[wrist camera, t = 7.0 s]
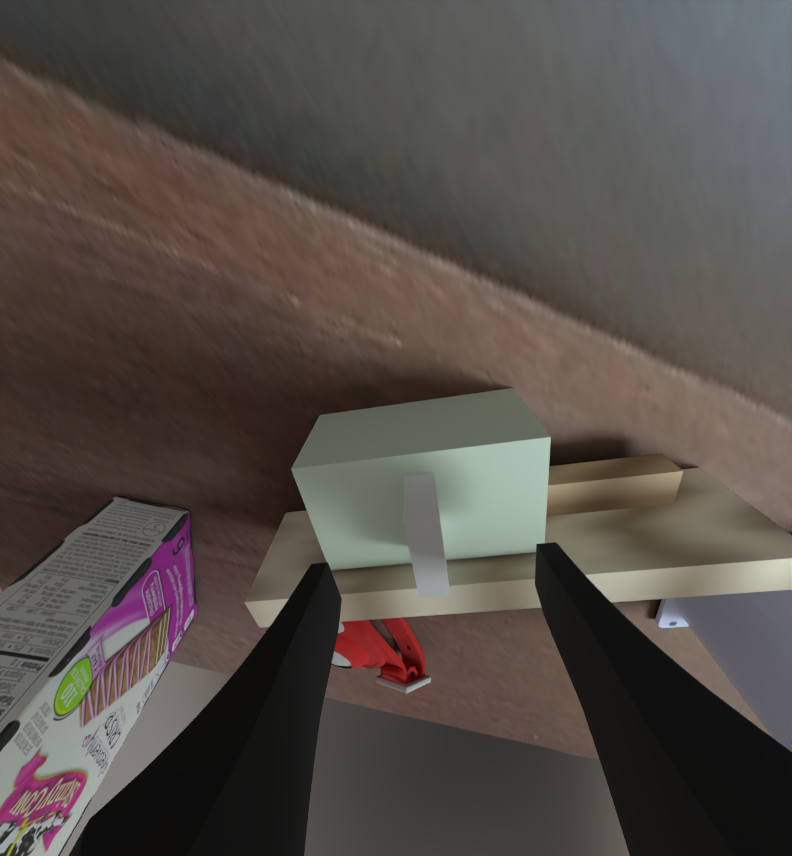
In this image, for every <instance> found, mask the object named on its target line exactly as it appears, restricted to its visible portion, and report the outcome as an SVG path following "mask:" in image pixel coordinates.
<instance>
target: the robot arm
mask: <svg viewBox="0 0 792 856" xmlns="http://www.w3.org/2000/svg"><path fill="white" fill-rule="evenodd" d="M535 587H536V590H537V594H538V597H539V600H540V604H541V607H542V610H543V613H544V616H545V619H546V621H547V624H548V626H549V629H550V631H551V633H552V636H553V638H554V641H555V643H556V645H557V648H558V650H559V653H560V655H561V657H562V660H563V662H564V664H565V667H566V669H567V672H568V674H569V676H570V679H571V681H572V683H573V686H574V688H575V690H576V693H577V695H578V698H579V700H580V703H581V706H582V708H583V711H584V714H585V717H586V720H587V723H588V726H589V729H590V732H591V735H592V737H593V740H594V743H595V746H596V749H597V752H598V756H599V759H600V761H601V765H602V768H603V771H604V774H605V777H606V780H607V783H608V786H609V790H610V793H611V796H612V799H613V802H614V805H615V809H616V812H617V815H618V818H619V822H620V825H621V828H622V831H623V835H624V838H625V841H626V844H627V848H628V851H629V854H630V856H792V590H779V591H765V592H751V593H737V594H723V595H709V596H695V597H681V598H667V599H662V600H661V603H660V606H659V609H658V612H657V615H656V618H655V622H656V624H657V625H658V626H659V627H661V628H670V627H686V626H690V628H691V629H692V630H693V632H694V633H695V634H696V636H697V637H698V638H699V640H700V641H701V642H702V644H703V645H704V646H705V648H706V649H707V650H708V652H709V653H710V654H711V656H712V657H713V658H714V660H715V661H716V662H717V664H718V665H719V666H720V668H721V669H722V670H723V672H724V673H725V674H726V676H727V677H728V678H729V680H730V681H731V682H732V684H733V685H734V686H735V688H736V689H737V690H738V692H739V693H740V694H741V696H742V697H743V698H744V700H745V701H746V703H747V704H748V705H749V707H750V708H751V709H752V711H753V712H754V713H755V715H756V716H757V717H758V719H759V720H760V721H761V723H762V724H763V725H764V727H765V728H766V729H767V731H768V732H769V733H770V735H771V736H772V737H773V738H772V737H771V736H769V735H768V734H766V733H765V732H764V731H762V730H761V729H760V728H758V727H757V726H756V725H754V724H753V723H752V722H750V721H749V720H748V719H747V718H745V717H744V716H743V715H741V714H740V713H739V712H737V711H736V710H735V709H733V708H732V707H731V706H730V705H728V704H727V703H726V702H724V701H723V700H722V699H720V698H719V697H718V696H716V695H715V694H714V693H713V692H711V691H710V690H709V689H707V688H706V687H705V686H704V685H703V684H701V683H700V682H699V681H698V680H696V679H695V678H694V677H693V676H692V675H690V674H689V673H688V672H687V671H685V670H684V669H683V668H682V667H681V666H680V665H678V664H677V663H676V662H675V661H674V660H673V659H671V658H670V657H669V656H668V655H667V654H666V653H664V652H663V651H662V650H661V649H660V648H659V647H658V646H656V645H655V644H654V643H653V642H652V641H651V640H650V639H649V638H648V637H647V636H645V635H644V634H643V633H642V632H641V631H640V630H639V629H638V628H637V627H636V626H635V625H634V624H633V623H632V622H631V621H629V620H628V619H627V618H626V617H625V616H624V615H623V614H622V613H621V612H620V611H619V610H618V609H617V608H616V607H615V606H614V605H613V604H612V603H611V602H610V601H609V600H608V599H607V598H606V597H605V596H604V595H603V594H602V592H601V591H600V590H599V589H598V588H597V587H596V586H595V585H594V584H593V583H592V582H591V581H590V580H589V579H588V578H587V577H586V575H585V574H584V573H583V572H582V571H581V570H580V569H579V568H578V567H577V565H576V564H575V563H574V562H573V561H572V560H571V559H570V557H569V556H568V555H567V554H566V553H565V552H564V550H563V549H562V548H561V547H560V546H559V544H557V543H556V542H552V543H541V544H536V566H535ZM341 602H342V598H341V595H340V593H339V590H338V588H337V585H336V582H335V580H334V577H333V574H332V572H331V569H330V566H329V564H328V562H325V563H314V564H311V565H310V566H309V568H308V569H307V571H306V572H305V574H304V576H303V577H302V579H301V580H300V582H299V584H298V585H297V587H296V588H295V590H294V591H293V593H292V594H291V596H290V598H289V599H288V601H287V602H286V604H285V605H284V607H283V608H282V610H281V611H280V612H279V614H278V615H277V617H276V618H275V620H274V621H273V623H272V624H271V626H270V627H269V629H268V630H267V631H266V633H265V634H264V635H263V637H262V638H261V639H260V641H259V642H258V643H257V645H256V646H255V648H254V649H253V650H252V652H251V653H250V654H249V656H248V657H247V658H246V659H245V661H244V662H243V663H242V665H241V666H240V667H239V668H238V669H237V671H236V672H235V673H234V674H233V676H232V677H231V678H230V679H229V680H228V682H227V683H226V684H225V685H224V686H223V688H222V689H221V690H220V691H219V692H218V693H217V694H216V695H215V697H214V698H213V699H212V700H211V701H210V702H209V703H208V704H207V706H206V707H205V708H204V709H203V710H202V711H201V712H200V713H199V715H198V716H197V717H196V718H195V719H194V720H193V721H192V722H191V723H190V724H189V725H188V726H187V727H186V728H185V729H184V731H182V732H181V733H180V734H179V735H178V736H177V737H176V738H175V739H174V740H173V741H172V742H171V743H170V744H169V745H168V746H167V747H166V749H164V750H163V751H162V752H161V754H160V755H159V756H157V757H156V759H155V760H153V761H152V762H151V763H150V764H149V765H148V766H147V767H146V768H145V769H144V770H143V771H142V772H141V773H140V774H139V775H138V776H137V777H135V779H133V780H132V781H131V782H130V783H129V784H128V785H127V786H126V787H125V788H123V789H122V790H121V791H120V792H119V793H118V794H117V795H116V796H115V797H114V798H112V799H111V800H110V801H109V802H108V803H107V804H106V805H105V806H104V807H103V808H102V809H100V810H99V811H98V812H97V813H96V814H95V815H94V816H92V817H91V818H90V820H89V821H88V823H87V825H86V826H85V828H84V830H83V832H82V833H81V835H80V837H79V838H78V840H77V842H76V844H75V846H74V847H73V849H72V851H71V853H70V854H69V856H304V850H305V840H306V830H307V820H308V811H309V800H310V792H311V784H312V775H313V766H314V759H315V751H316V744H317V736H318V729H319V722H320V716H321V711H322V705H323V700H324V696H325V691H326V687H327V682H328V677H329V673H330V668H331V664H332V659H333V654H334V650H335V645H336V640H337V635H338V630H339V622H340V613H341Z"/></svg>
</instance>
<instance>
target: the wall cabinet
mask: <svg viewBox="0 0 792 856" xmlns="http://www.w3.org/2000/svg"><path fill="white" fill-rule="evenodd" d="M550 443H551V436H550V435H549V434H548V432H547V431H546V430H545V429H544V427H543V426H542V425H541V423H540V422H539V421H538V419H537V418H536V417H535V415H534V414H533V413H532V412H531V410H530V409H529V408H528V406H527V405H526V404H525V402H524V401H523V400H522V398H521V397H520V396H519V395H518V393H517V392H516V391H515V389H514V388H509V389H502V390H495V391H488V392H481V393H474V394H467V395H459V396H452V397H445V398H438V399H431V400H424V401H417V402H410V403H402V404H395V405H388V406H381V407H374V408H367V409H360V410H353V411H345V412H338V413H331V414H324V415H320V416H319V417H318V419H317V421H316V423H315V425H314V427H313V429H312V431H311V432H310V434H309V436H308V438H307V440H306V442H305V444H304V446H303V447H302V449H301V451H300V453H299V455H298V457H297V459H296V461H295V462H294V464H293V466H292V468H291V470H292V473H293V476H294V478H295V481H296V483H297V486H298V489H299V491H300V494H301V496H302V499H303V502H304V504H305V507H306V510H307V512H308V515H309V517H310V520H311V523H312V525H313V528H314V530H315V533H316V536H317V538H318V541H319V544H320V546H321V549H322V551H323V554H324V557H325V559H326V562H328V564H329V566H330V569H331V570H339V569H351V568H362V567H373V566H385V565H396V564H407V563H412V566H413V571H414V576H415V580H416V585H417V590H418V595H419V598H429V597H442V596H450V590H449V581H448V573H447V565H446V560H453V559H464V558H475V557H487V556H498V555H509V554H521V553H532V552H536V544H541V543H545V528H546V511H547V494H548V477H549V460H550Z"/></svg>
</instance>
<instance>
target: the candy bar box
mask: <svg viewBox="0 0 792 856" xmlns="http://www.w3.org/2000/svg"><path fill="white" fill-rule="evenodd" d="M196 615H197V604H196V592H195V580H194V567H193V554H192V541H191V525H190V512H189V511H187V510H184V509H180V508H177V507H172V506H165V505H159V504H153V503H147V502H142V501H138V500H134V499H128V498H123V497H117V496H116V497H113V498H112V499H111V500H110V501H109V502H107V503H106V504H105V505H104V506H103V507H102V508H100V509H99V510H98V511H97V512H96V513H95V514H93V515H92V516H91V517H90V518H89V519H87V520H86V521H85V522H84V523H83V524H81V525H80V526H79V527H78V528H77V529H75V530H74V531H73V532H72V533H71V534H69V535H68V536H67V537H66V538H65V539H64V540H62V541H61V542H60V543H59V544H58V545H57V546H56V547H54V548H53V549H52V550H51V551H50V552H48V553H47V554H46V555H45V556H44V557H42V558H41V559H40V560H39V561H38V562H37V563H35V564H34V565H33V566H32V567H31V568H30V569H28V570H27V571H26V572H25V573H24V574H23V575H21V576H20V577H19V578H18V579H17V580H16V581H14V582H13V583H12V584H11V585H10V586H8V587H7V588H6V589H5V590H3V591H2V592H1V593H0V856H60V854H61V852H62V851H63V849H64V847H65V845H66V844H67V842H68V840H69V838H70V837H71V835H72V833H73V831H74V829H75V828H76V826H77V824H78V823H79V821H80V819H81V817H82V815H83V813H84V811H85V810H86V808H87V806H88V804H89V803H90V801H91V799H92V797H93V796H94V794H95V792H96V790H97V789H98V787H99V785H100V783H101V782H102V780H103V778H104V776H105V775H106V773H107V771H108V769H109V767H110V765H111V763H112V761H113V759H114V758H115V756H116V754H117V752H118V751H119V749H120V748H121V746H122V744H123V742H124V740H125V739H126V737H127V735H128V733H129V732H130V730H131V729H132V727H133V725H134V723H135V722H136V720H137V718H138V716H139V715H140V713H141V711H142V709H143V707H144V705H145V703H146V702H147V700H148V698H149V696H150V695H151V693H152V691H153V690H154V688H155V686H156V684H157V683H158V681H159V679H160V677H161V675H162V674H163V672H164V670H165V669H166V667H167V665H168V664H169V662H170V660H171V658H172V656H173V655H174V653H175V651H176V649H177V647H178V646H179V644H180V642H181V641H182V639H183V637H184V635H185V634H186V632H187V630H188V629H189V627H190V625H191V623H192V622H193V620H194V618H195V617H196Z"/></svg>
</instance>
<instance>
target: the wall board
mask: <svg viewBox="0 0 792 856" xmlns="http://www.w3.org/2000/svg"><path fill="white" fill-rule="evenodd" d="M552 542H556V543H557V544H559V546H560V547H561V548H562V549H563V550H564V552H565V553H566V554H567V555H568V556H569V557H570V559H571V560H572V561H573V562H574V563H575V564H576V565H577V567H578V568H579V569H580V570H581V571H582V572H583V573H584V574H585V575H586V577H587V578H588V579H589V580H590V581H591V582H592V583H593V584H594V585H595V586H596V587H597V588H598V589H599V590H600V591H601V592H602V594H603V595H604V596H605V597H606V598H607V599H608V600H609V601H610V602H625V601H639V600H653V599H667V598H681V597H695V596H709V595H723V594H737V593H751V592H765V591H779V590H792V535H790V534H789V533H788V532H786V531H785V530H784V529H782V528H781V527H780V526H778V525H777V524H776V523H774V522H773V521H772V520H770V519H769V518H768V517H766V516H765V515H764V514H762V513H761V512H760V511H758V510H757V509H756V508H754V507H753V506H751V505H750V504H749V503H747V502H746V501H745V500H743V499H742V498H741V497H739V496H738V495H737V494H735V493H734V492H733V491H731V490H730V489H729V488H727V487H726V486H725V485H723V484H722V483H721V482H719V481H718V480H717V479H715V478H714V477H712V476H711V475H710V474H708V473H707V472H706V471H704V470H703V469H702V468H700V467H699V468H690V469H680V468H679V467H678V466H677V465H675V464H674V463H673V462H672V461H670V460H669V459H668V458H667V457H665V456H664V455H663V454H653V455H644V456H636V457H627V458H618V459H610V460H601V461H592V462H583V463H575V464H566V465H557V466H549V477H548V494H547V511H546V528H545V543H552ZM325 562H326V559H325V557H324V554H323V551H322V549H321V546H320V544H319V541H318V538H317V536H316V533H315V530H314V528H313V525H312V523H311V520H310V517H309V515H308V512H307V510H305V511H296V512H287V513H285V515H284V517H283V520H282V522H281V524H280V526H279V528H278V530H277V532H276V535H275V537H274V539H273V541H272V543H271V545H270V548H269V550H268V552H267V554H266V556H265V558H264V560H263V563H262V565H261V567H260V569H259V571H258V573H257V576H256V578H255V580H254V582H253V584H252V586H251V588H250V591H249V593H248V595H247V597H246V599H245V601H244V603H245V605H246V606H247V608H248V610H249V611H250V613H251V615H252V616H253V618H254V620H255V621H256V623H257V625H258V626H259V628H260V627H270V626H271V624H272V623H273V621H274V620H275V618H276V617H277V615H278V614H279V612H280V611H281V610H282V608H283V607H284V605H285V604H286V602H287V601H288V599H289V598H290V596H291V594H292V593H293V591H294V590H295V588H296V587H297V585H298V584H299V582H300V580H301V579H302V577H303V576H304V574H305V572H306V571H307V569H308V568H309V566H310V565H311V564H314V563H325ZM446 565H447V573H448V581H449V590H450V596H442V597H429V598H419V595H418V590H417V585H416V580H415V576H414V571H413V566H412V563H407V564H396V565H385V566H373V567H362V568H351V569H339V570H331V572H332V574H333V577H334V580H335V582H336V585H337V588H338V590H339V593H340V595H341V598H342V602H341V613H340V622H344V621H358V620H372V619H387V618H401V617H415V616H429V615H443V614H457V613H471V612H485V611H499V610H513V609H527V608H541V604H540V600H539V597H538V594H537V590H536V587H535V566H536V552H532V553H521V554H509V555H498V556H487V557H475V558H464V559H453V560H446Z"/></svg>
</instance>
